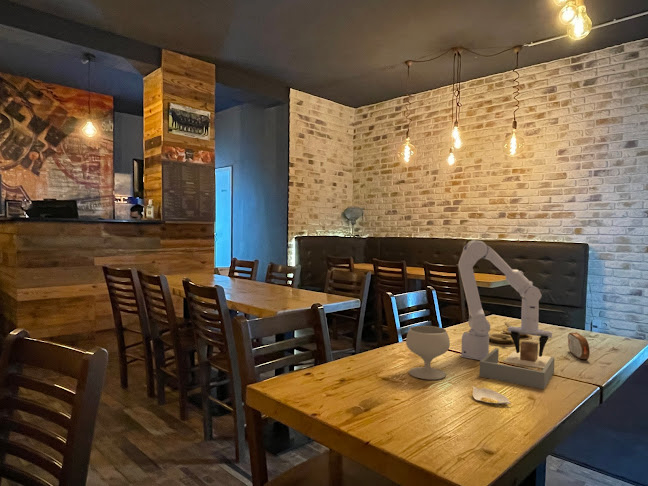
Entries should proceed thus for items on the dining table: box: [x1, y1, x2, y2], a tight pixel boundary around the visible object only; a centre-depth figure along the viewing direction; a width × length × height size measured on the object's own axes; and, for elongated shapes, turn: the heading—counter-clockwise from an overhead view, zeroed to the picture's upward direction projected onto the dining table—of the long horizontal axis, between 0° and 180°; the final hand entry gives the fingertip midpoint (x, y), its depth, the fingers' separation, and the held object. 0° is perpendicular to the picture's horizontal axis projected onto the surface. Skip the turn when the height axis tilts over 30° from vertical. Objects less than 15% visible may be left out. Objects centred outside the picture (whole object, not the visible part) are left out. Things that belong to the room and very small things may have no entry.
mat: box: [503, 350, 552, 370], centre depth 157 cm, size 14×16×1 cm
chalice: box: [405, 325, 451, 381], centre depth 140 cm, size 14×14×15 cm
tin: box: [567, 332, 591, 360], centre depth 163 cm, size 15×3×8 cm, turn 168°
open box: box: [479, 347, 555, 390], centre depth 141 cm, size 19×20×5 cm
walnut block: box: [519, 340, 539, 362], centre depth 157 cm, size 5×5×6 cm
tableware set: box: [489, 321, 533, 348], centre depth 188 cm, size 30×20×6 cm, turn 135°
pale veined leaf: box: [472, 386, 512, 405], centre depth 119 cm, size 8×12×2 cm, turn 39°
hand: (529, 354), depth 157 cm, fingers open, 7 cm apart
